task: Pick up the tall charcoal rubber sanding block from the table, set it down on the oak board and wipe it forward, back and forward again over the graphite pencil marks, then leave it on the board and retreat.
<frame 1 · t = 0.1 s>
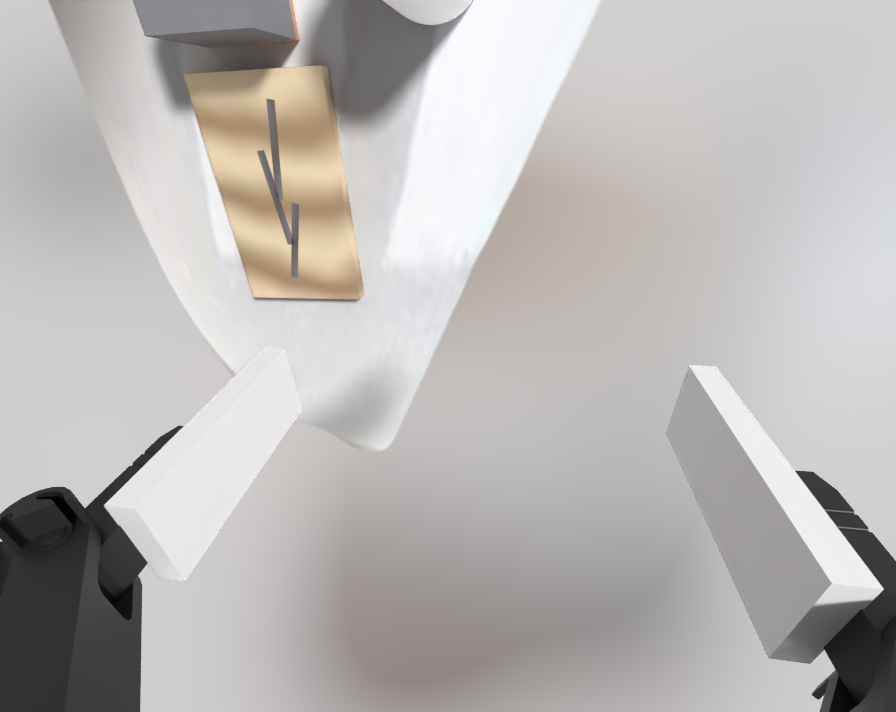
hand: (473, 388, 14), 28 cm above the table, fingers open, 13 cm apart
sanding block: (245, 8, 32), on the table
board: (289, 196, 39), on the table
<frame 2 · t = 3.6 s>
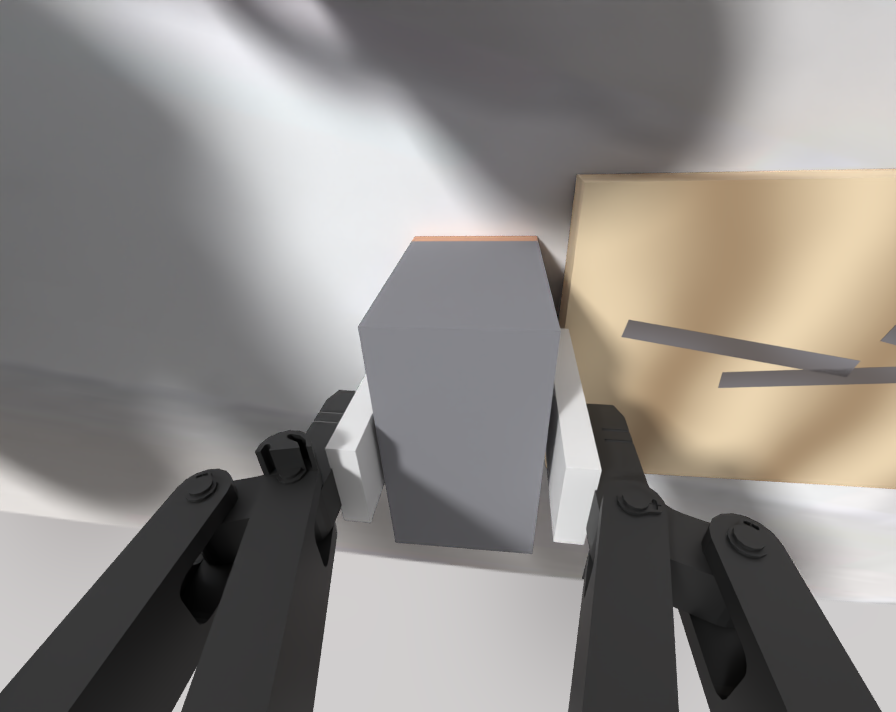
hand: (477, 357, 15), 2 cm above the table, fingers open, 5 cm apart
sanding block: (474, 333, 17), on the table
board: (828, 342, 15), on the table
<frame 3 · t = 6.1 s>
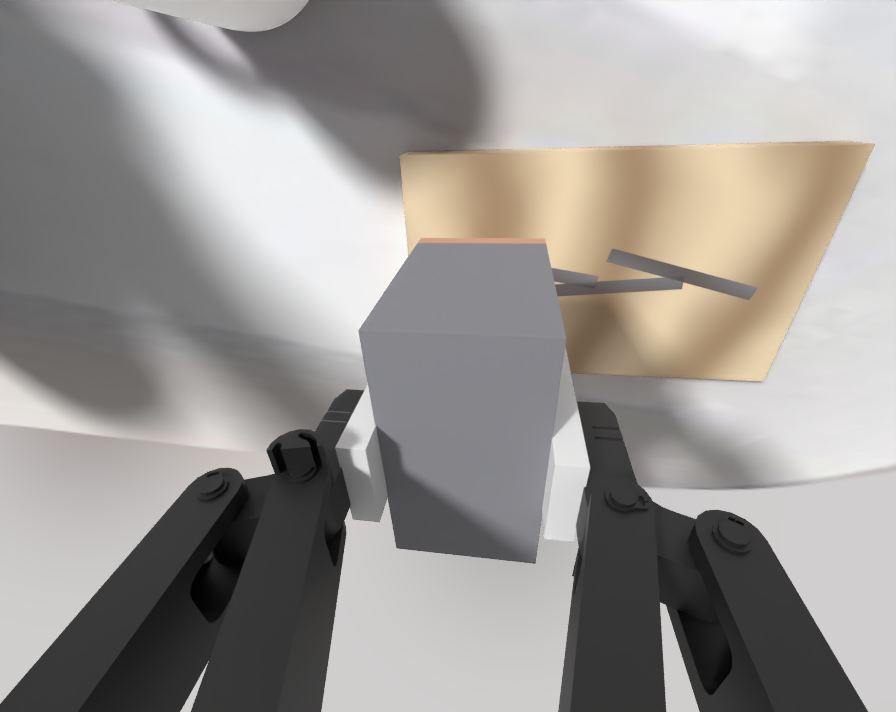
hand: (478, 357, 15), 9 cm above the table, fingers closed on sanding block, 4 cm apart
sanding block: (480, 336, 17), point 8 cm above the table, touching gripper
board: (593, 268, 22), on the table
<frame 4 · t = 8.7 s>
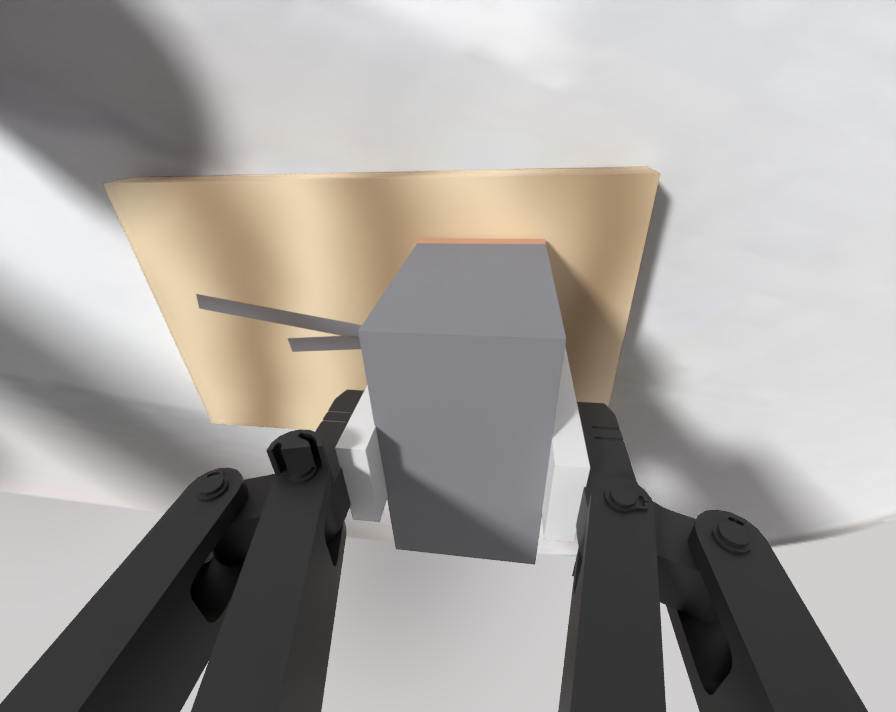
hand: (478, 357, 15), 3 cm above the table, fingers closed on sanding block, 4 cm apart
sanding block: (480, 336, 16), point 2 cm above the table, touching gripper
board: (386, 315, 19), on the table
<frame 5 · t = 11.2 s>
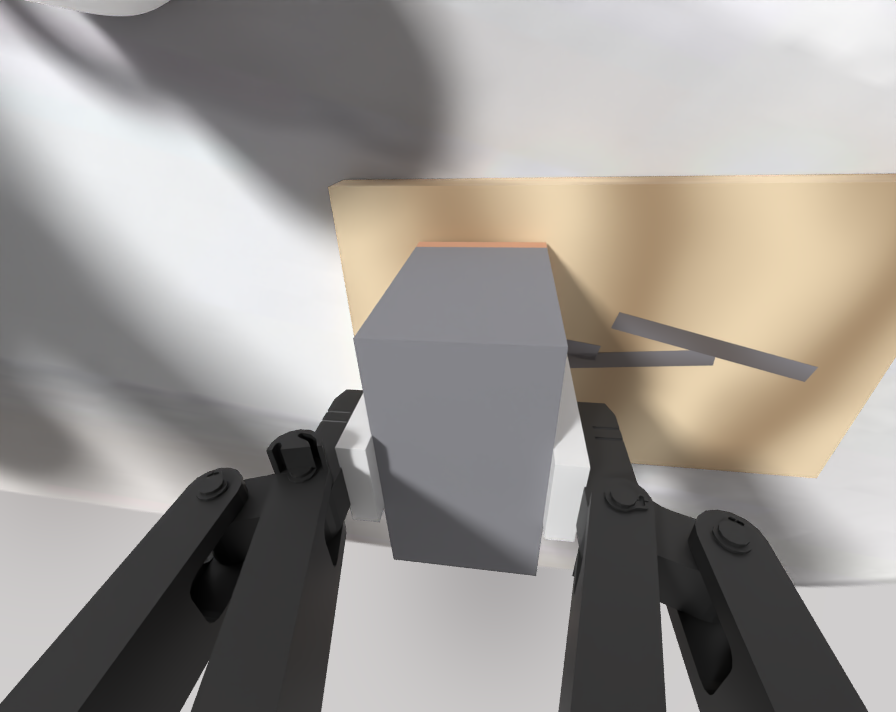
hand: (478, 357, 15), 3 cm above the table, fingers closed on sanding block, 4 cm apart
sanding block: (480, 341, 16), point 2 cm above the table, touching gripper
board: (593, 330, 17), on the table
when the fingers open (3 cm above the table, at t = 13.6 s): sanding block stays where it is, resting on board.
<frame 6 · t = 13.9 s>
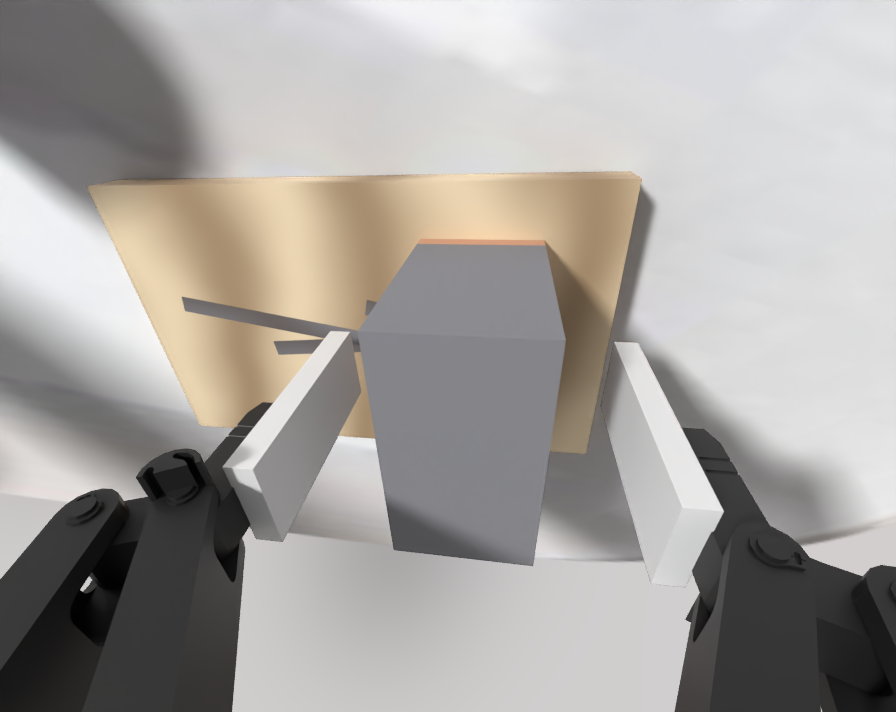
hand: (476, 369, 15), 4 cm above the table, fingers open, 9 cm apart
sanding block: (479, 337, 16), point 2 cm above the table, touching board
board: (373, 318, 18), on the table
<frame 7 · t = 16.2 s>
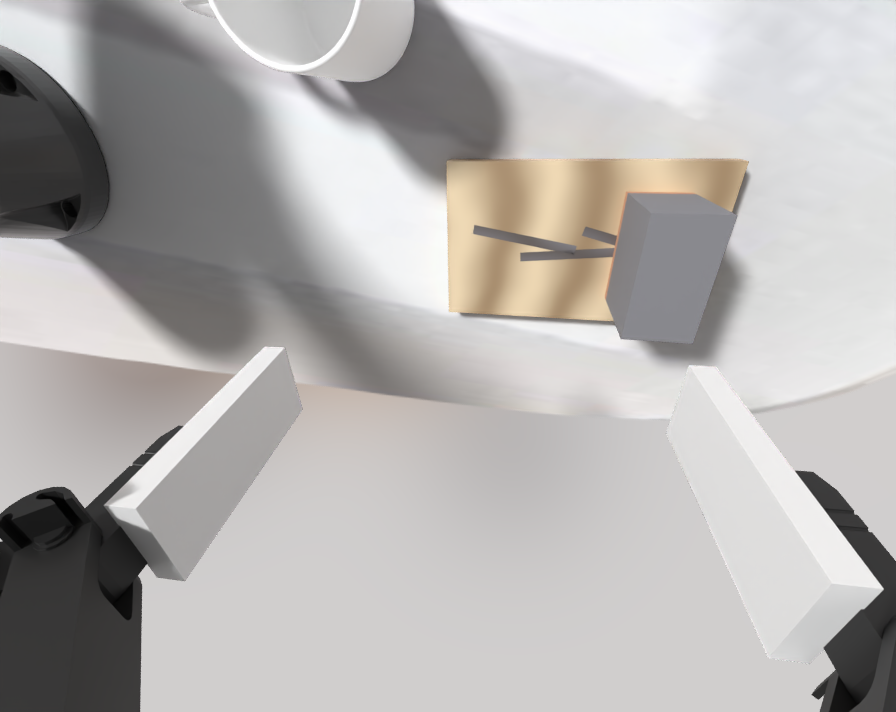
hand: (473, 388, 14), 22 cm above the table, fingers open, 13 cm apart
cup: (332, 12, 27), on the table
sanding block: (645, 249, 30), point 2 cm above the table, touching board
board: (574, 242, 32), on the table
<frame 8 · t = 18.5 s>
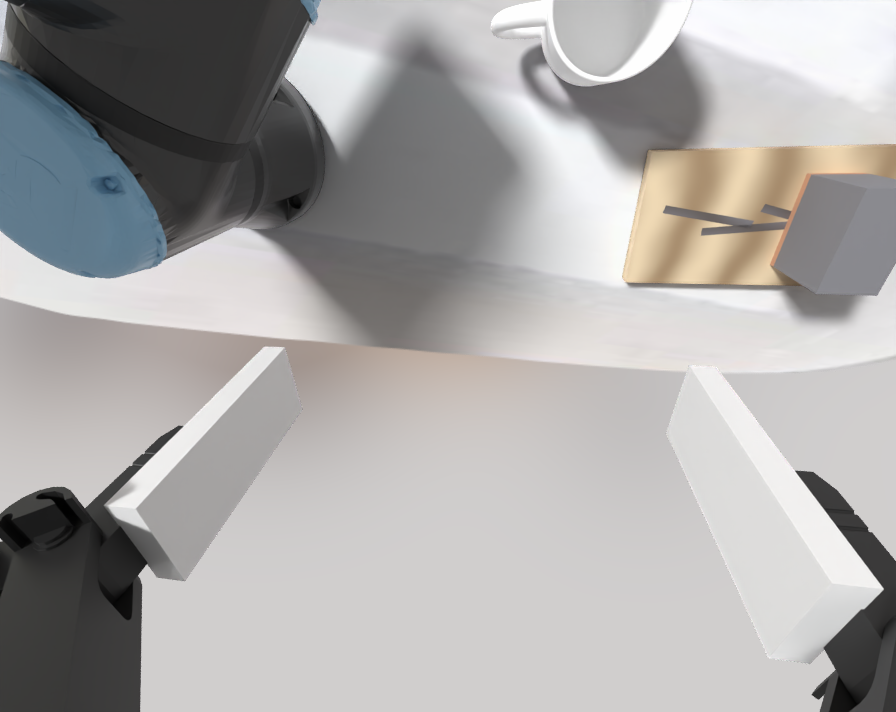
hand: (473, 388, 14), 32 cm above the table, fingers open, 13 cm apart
cup: (568, 28, 33), on the table
sanding block: (814, 221, 36), point 2 cm above the table, touching board
board: (745, 218, 38), on the table
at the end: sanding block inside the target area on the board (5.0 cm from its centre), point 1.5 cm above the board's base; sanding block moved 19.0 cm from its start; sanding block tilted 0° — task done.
